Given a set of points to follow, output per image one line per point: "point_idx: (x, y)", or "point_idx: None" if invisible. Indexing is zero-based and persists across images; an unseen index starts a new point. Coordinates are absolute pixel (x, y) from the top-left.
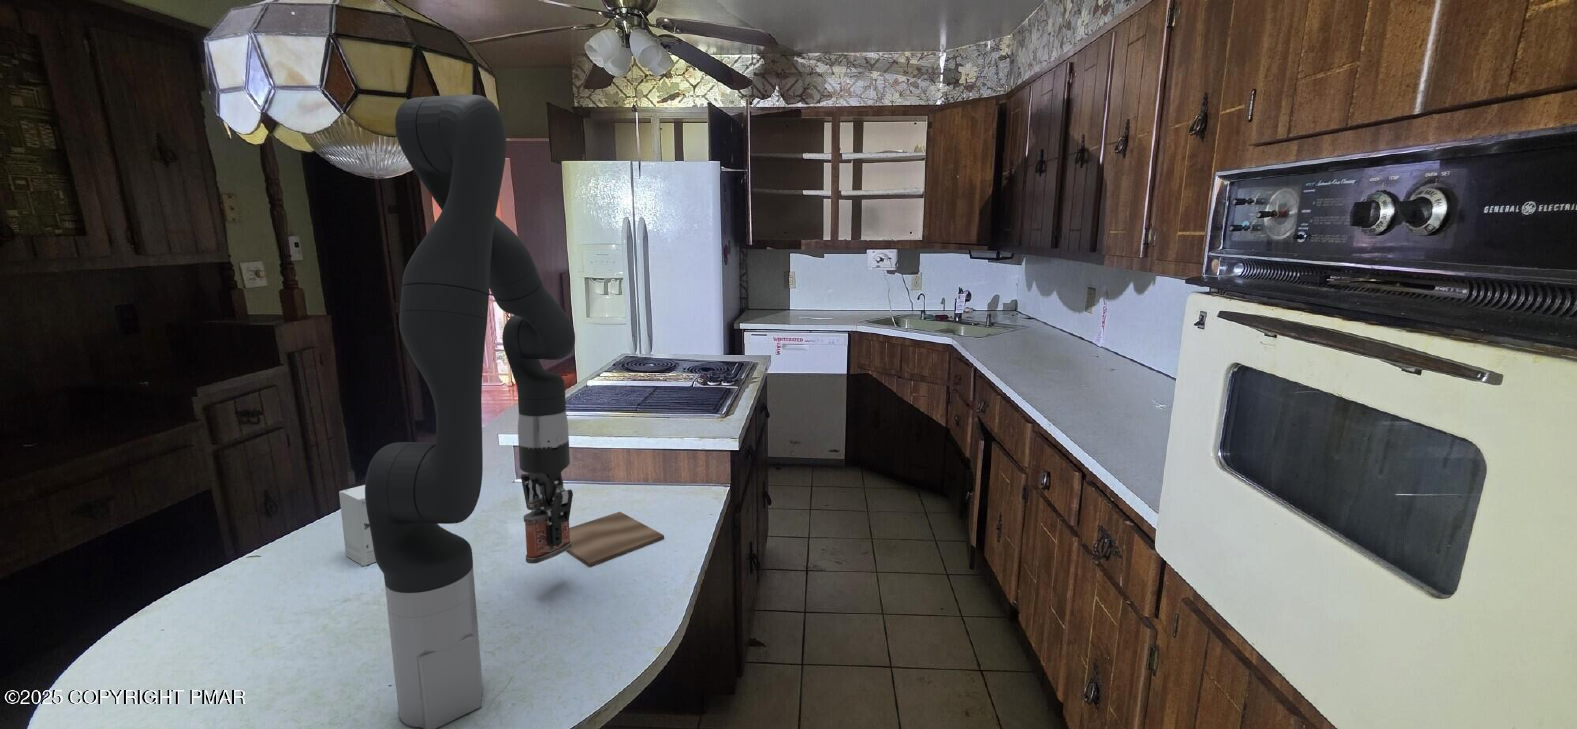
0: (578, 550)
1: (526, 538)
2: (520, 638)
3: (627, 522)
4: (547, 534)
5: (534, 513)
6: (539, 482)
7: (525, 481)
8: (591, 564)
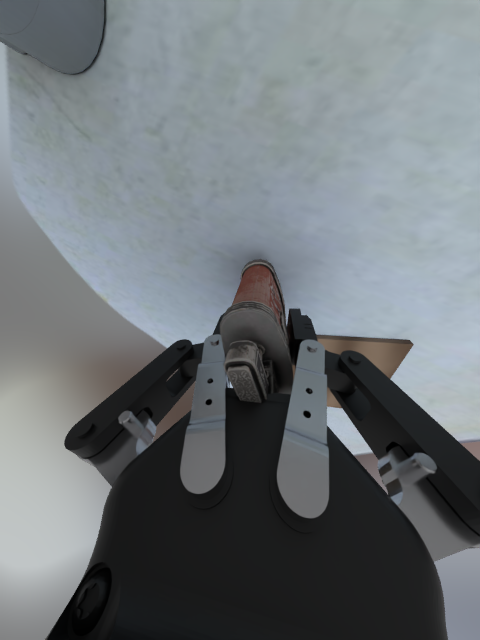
0: (324, 344)
1: (254, 280)
2: (174, 189)
3: (334, 401)
4: None
5: (261, 343)
6: (244, 496)
7: (442, 475)
8: None
